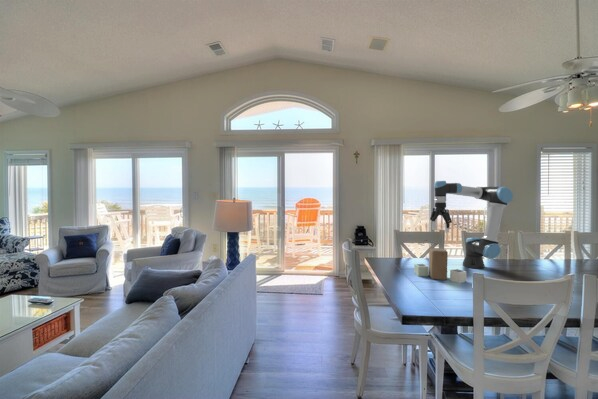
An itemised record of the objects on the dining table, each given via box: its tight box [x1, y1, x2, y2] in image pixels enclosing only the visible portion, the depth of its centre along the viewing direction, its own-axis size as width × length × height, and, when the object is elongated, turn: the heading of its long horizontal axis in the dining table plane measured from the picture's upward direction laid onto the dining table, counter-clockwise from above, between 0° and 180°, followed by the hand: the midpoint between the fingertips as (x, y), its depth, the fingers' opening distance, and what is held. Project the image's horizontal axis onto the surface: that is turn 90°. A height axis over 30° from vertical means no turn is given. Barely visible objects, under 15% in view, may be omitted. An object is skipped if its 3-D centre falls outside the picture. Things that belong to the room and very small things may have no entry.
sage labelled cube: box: [413, 263, 429, 277], centre depth 223 cm, size 7×7×7 cm
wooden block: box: [428, 247, 449, 281], centre depth 215 cm, size 10×10×20 cm
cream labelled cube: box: [449, 268, 467, 284], centre depth 209 cm, size 7×7×7 cm
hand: (440, 231), depth 225 cm, fingers open, 13 cm apart
